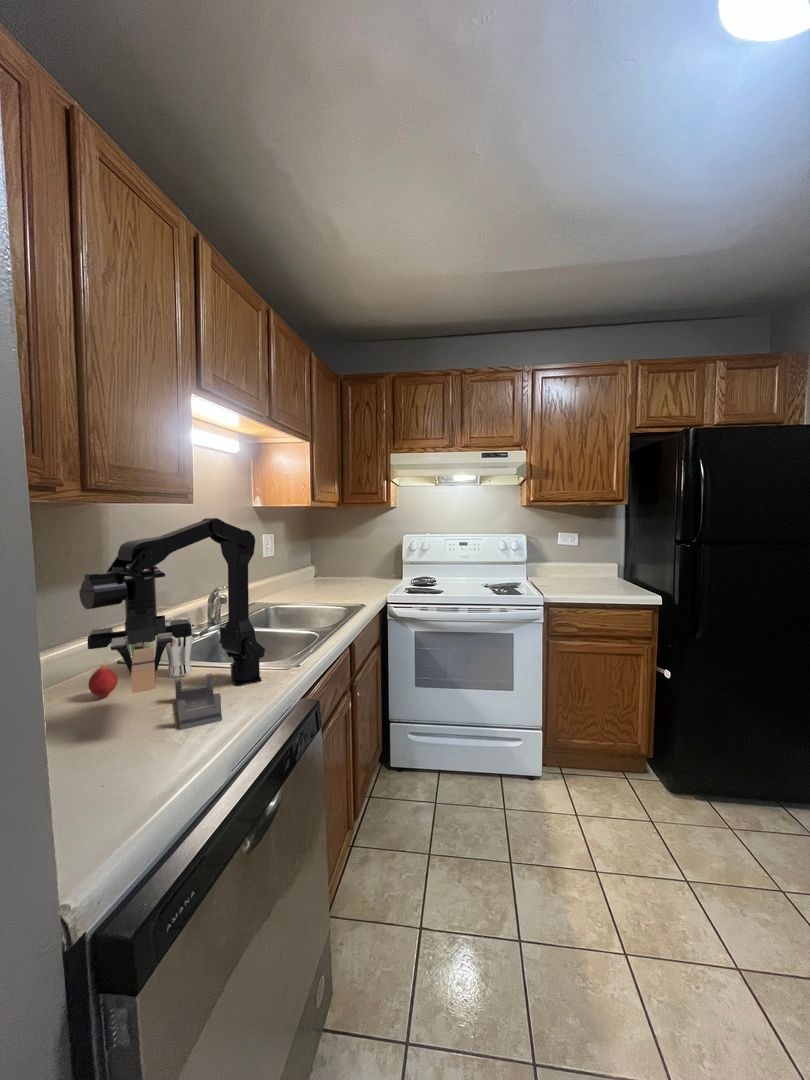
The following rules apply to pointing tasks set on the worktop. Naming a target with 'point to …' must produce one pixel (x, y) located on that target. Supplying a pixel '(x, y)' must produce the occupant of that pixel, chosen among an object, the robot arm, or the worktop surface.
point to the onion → (103, 682)
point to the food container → (144, 646)
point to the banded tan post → (143, 670)
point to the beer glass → (179, 653)
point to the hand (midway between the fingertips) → (144, 672)
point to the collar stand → (197, 704)
